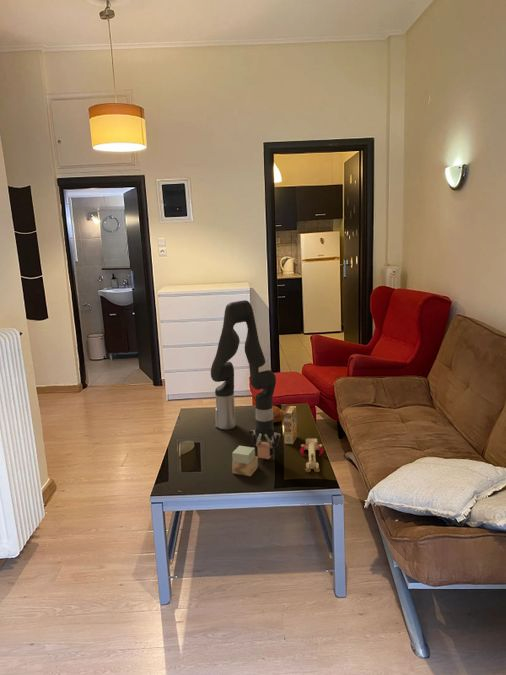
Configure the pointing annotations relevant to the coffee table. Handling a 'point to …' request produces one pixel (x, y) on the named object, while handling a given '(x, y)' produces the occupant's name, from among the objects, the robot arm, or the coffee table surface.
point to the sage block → (243, 454)
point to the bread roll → (277, 414)
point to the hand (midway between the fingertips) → (265, 454)
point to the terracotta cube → (264, 450)
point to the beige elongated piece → (311, 454)
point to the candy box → (290, 425)
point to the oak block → (245, 467)
